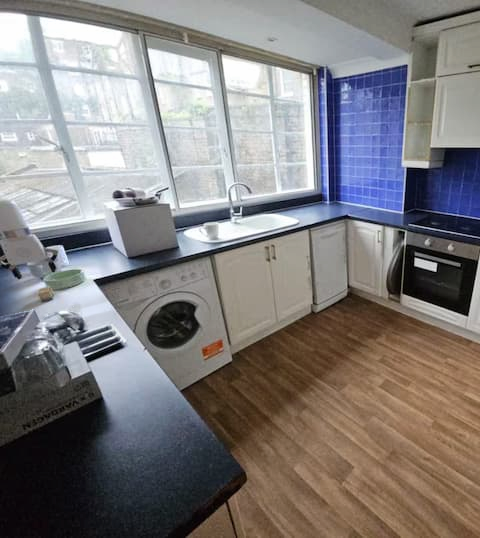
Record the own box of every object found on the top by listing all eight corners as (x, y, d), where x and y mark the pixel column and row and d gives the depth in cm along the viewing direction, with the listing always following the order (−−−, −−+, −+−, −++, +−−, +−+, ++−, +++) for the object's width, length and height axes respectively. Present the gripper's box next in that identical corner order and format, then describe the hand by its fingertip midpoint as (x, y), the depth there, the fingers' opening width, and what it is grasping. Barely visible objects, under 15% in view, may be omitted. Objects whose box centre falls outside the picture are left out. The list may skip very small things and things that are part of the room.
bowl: (45, 293, 126) (40, 283, 124) (49, 283, 135) (45, 274, 134) (85, 284, 133) (81, 275, 132) (87, 275, 143) (83, 266, 141)
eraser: (52, 299, 120) (48, 291, 119) (41, 302, 118) (37, 293, 117) (54, 294, 124) (50, 286, 123) (44, 297, 123) (39, 288, 121)
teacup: (41, 273, 146) (34, 258, 143) (69, 269, 150) (62, 255, 147) (25, 285, 134) (17, 268, 131) (56, 280, 138) (48, 264, 135)
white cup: (46, 268, 153) (37, 250, 149) (62, 262, 160) (54, 245, 156) (58, 268, 152) (50, 250, 148) (74, 262, 159) (66, 245, 155)
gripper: (-22, 240, 103) (3, 284, 109) (46, 230, 112) (65, 271, 119) (-16, 236, 108) (8, 278, 115) (49, 227, 118) (67, 266, 125)
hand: (37, 274), depth 117 cm, fingers open, 9 cm apart
